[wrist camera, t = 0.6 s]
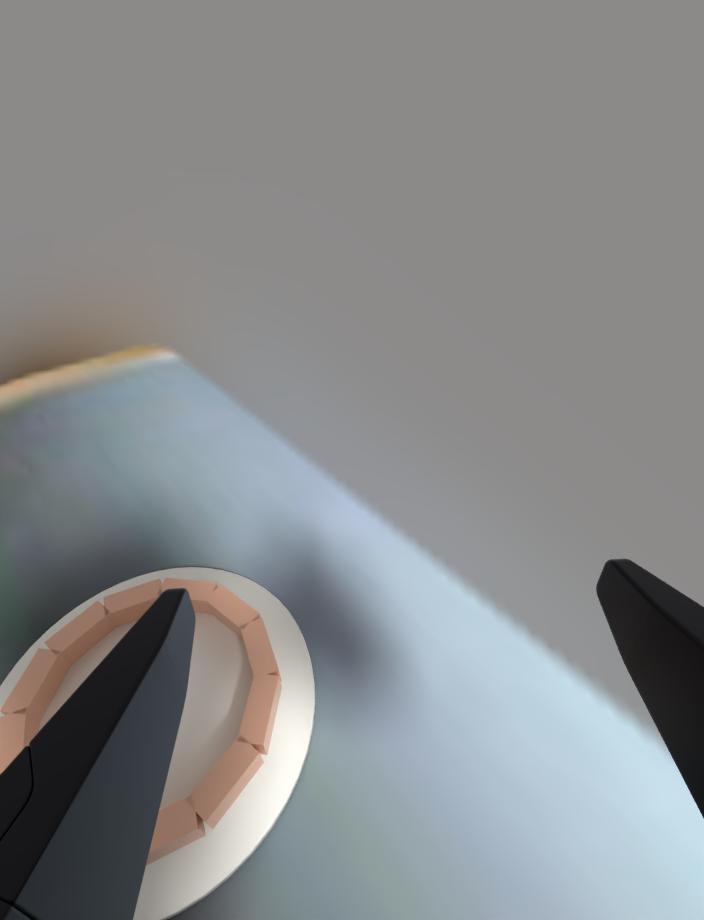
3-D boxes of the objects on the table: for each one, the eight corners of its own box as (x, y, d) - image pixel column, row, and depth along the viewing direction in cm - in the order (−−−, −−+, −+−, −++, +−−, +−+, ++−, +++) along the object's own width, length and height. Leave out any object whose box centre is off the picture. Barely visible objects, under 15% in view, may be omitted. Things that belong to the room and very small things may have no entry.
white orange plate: (274, 971, 17) (266, 971, 15) (-125, 903, 18) (-167, 897, 17) (335, 587, 29) (334, 566, 27) (89, 563, 30) (75, 542, 29)
